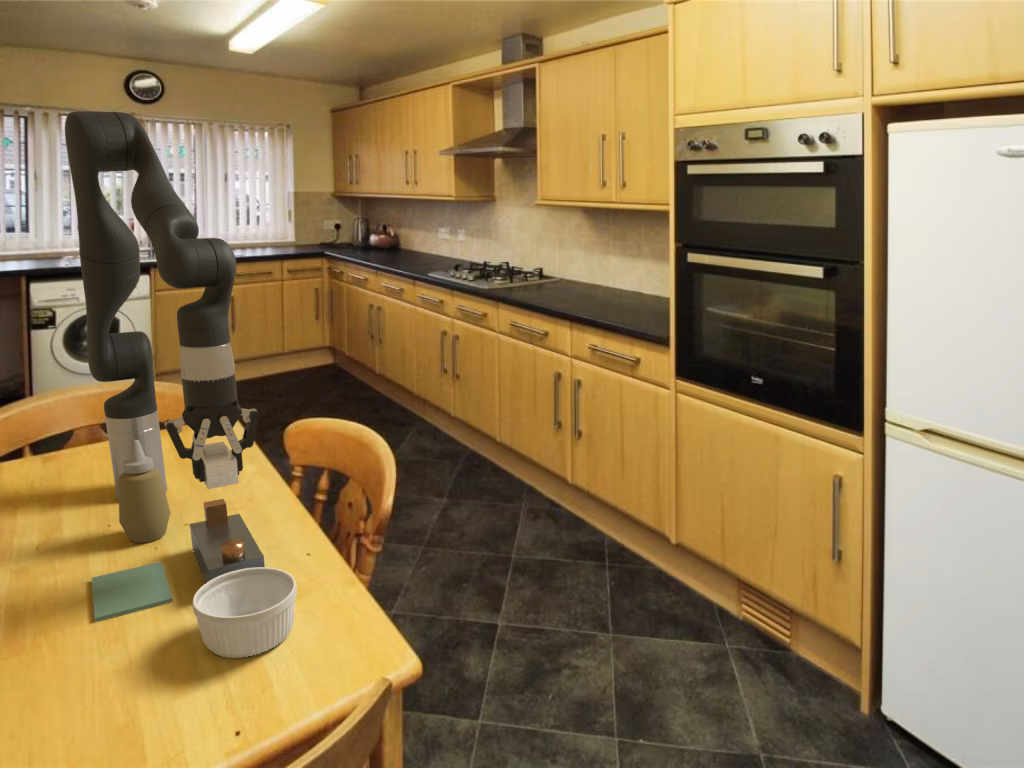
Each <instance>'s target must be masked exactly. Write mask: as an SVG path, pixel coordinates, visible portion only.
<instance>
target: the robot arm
mask: <svg viewBox="0 0 1024 768" xmlns="http://www.w3.org/2000/svg"><path fill="white" fill-rule="evenodd" d="M64 136H65V137H64V139H65V145H66V152H67V158H68V164H69V169H70V176H71V180H72V185H73V193H74V198H75V206H76V217H77V231H78V248H79V250H78V251H79V259H80V260H79V261H80V269H81V277H82V284H83V291H84V299H85V309H86V311H85V312H86V314H85V315H86V349H87V350H86V351H87V352H86V353H87V363H88V367H89V372H90V374H91V376H92V378H93V379H94V380H95V381H97V382H100V383H101V382H102V383H107V382H108V383H111V382H118V381H126V380H127V381H128V380H134V381H133V382H132V383H131V385H130V386H128V387H127V388H126V389H124V390H123V391H120V392H119V393H117V394H115V395H113V396H111V397H108V398H107V399H106V400H105V401H104V403H103V412H104V417H105V418H104V419H105V424H106V425H105V426H106V431H107V438H108V444H109V451H110V459H111V465H112V472H113V480H114V482H113V483H114V488H115V493H116V498H117V499H118V500H119V483H118V478H119V476H120V475H121V474H122V473H124V470H123V462H124V461H125V460H127V459H129V456H130V447H131V441H132V440H139V442H140V444H141V447H142V449H143V452H144V454H145V456H148V457H151V458H152V459H153V465H154V467H153V468H156V469H158V470H159V471H160V473H161V477H162V481H163V485H164V489H165V492H166V491H167V490H168V487H167V486H168V484H167V477H166V469H165V461H164V453H163V452H164V451H163V445H162V437H161V436H162V435H161V429H160V421H159V414H158V413H159V412H158V404H157V395H156V388H155V377H154V375H155V374H154V373H155V372H154V359H153V358H154V357H153V349H152V348H153V347H152V345H151V341H150V338H149V336H148V335H147V333H145V332H144V331H138V330H137V331H128V332H126V331H125V332H124V331H123V332H115V333H113V332H111V333H110V329H111V326H112V323H113V320H114V318H115V317H116V315H117V313H118V312H119V311H120V309H121V308H122V307H123V305H124V304H125V303H126V302H127V300H128V298H130V296H131V294H132V293H133V292H134V290H135V289H136V287H137V285H138V283H139V282H140V278H141V262H140V261H141V260H140V259H141V258H140V257H141V256H140V245H139V241H138V239H137V237H136V235H135V234H134V232H133V231H132V230H131V228H130V227H129V225H127V224H126V222H125V221H124V220H123V219H122V217H121V216H120V215H119V214H118V213H117V212H116V211H115V209H113V207H112V206H111V205H110V203H109V202H108V200H107V199H106V196H105V195H104V194H103V192H102V189H101V185H100V181H99V180H100V179H99V173H104V172H105V173H106V172H108V173H109V172H128V171H135V172H136V173H137V174H138V176H137V179H136V180H135V184H134V185H133V188H132V192H131V197H130V203H131V204H130V205H131V210H132V211H133V215H134V217H135V219H136V220H137V222H138V224H139V225H140V226H141V228H142V229H143V231H144V232H145V234H146V235H147V236H148V237H149V240H150V242H151V245H152V248H153V252H154V256H155V261H156V267H157V271H158V275H159V276H160V278H161V280H162V281H163V282H164V283H166V284H168V286H170V287H173V288H175V289H179V290H181V289H184V290H185V289H197V288H204V291H203V293H202V295H201V297H200V298H199V299H197V300H195V301H192V302H190V303H186V304H184V305H182V306H180V307H179V308H178V309H177V311H176V323H177V331H178V332H177V333H178V341H179V366H180V375H181V376H180V377H181V384H182V385H181V386H182V395H183V403H184V409H183V411H182V413H181V416H180V417H176V418H174V419H166V420H165V421H164V423H163V424H164V427H165V429H166V431H167V433H168V436H169V438H170V440H171V442H172V444H173V446H174V448H175V450H176V452H177V454H178V457H179V458H180V459H182V460H184V459H190V461H191V465H192V466H191V467H192V474H193V477H194V478H195V480H198V481H199V482H200V483H204V481H205V478H204V469H203V460H202V458H201V455H202V450H203V447H204V445H205V444H206V442H207V441H206V440H207V439H211V438H214V437H226V440H227V442H228V444H229V445H230V450H231V452H232V453H233V455H234V456H235V458H236V459H237V469H238V476H239V475H240V472H243V468H244V463H243V462H244V461H243V451H244V450H246V449H247V448H249V449H251V448H252V447H253V446H254V444H255V439H256V438H255V437H256V434H257V430H258V426H259V425H258V424H259V420H260V416H261V415H260V412H259V411H258V410H257V409H256V408H254V407H251V408H249V409H248V408H242V407H241V406H240V404H239V400H238V393H237V380H236V364H235V358H234V353H233V348H232V345H231V343H232V342H231V334H230V323H229V322H230V321H229V312H230V305H231V300H232V294H233V289H234V286H235V285H234V284H235V279H236V273H237V258H236V254H235V252H234V250H233V248H232V247H231V245H230V244H229V243H228V242H226V240H224V239H222V238H218V237H204V238H202V237H201V238H198V237H199V234H200V230H199V229H200V228H199V224H198V222H197V220H196V218H195V217H194V216H193V214H192V213H191V211H190V210H189V209H188V207H187V206H186V204H185V203H184V201H183V200H182V199H181V198H180V197H179V195H178V194H177V192H176V190H175V189H174V187H173V185H172V184H171V182H170V180H169V178H168V176H167V173H166V172H165V169H164V167H163V165H162V162H161V159H159V155H158V153H157V152H156V150H155V148H154V146H153V144H152V142H151V140H150V137H149V136H148V133H147V132H146V130H145V128H144V126H143V125H142V123H141V122H140V121H139V120H138V118H136V117H135V116H134V115H133V114H130V113H127V112H122V111H95V110H94V111H93V110H92V111H91V110H88V111H87V110H86V111H85V110H82V111H81V110H80V111H79V110H75V111H71V112H69V113H68V114H67V116H66V117H65V123H64ZM241 416H242V420H243V422H244V423H245V425H244V430H243V434H242V438H241V439H239V440H238V437H237V435H236V433H235V431H234V427H235V425H237V422H238V420H239V419H240V417H241ZM184 424H185V425H187V426H188V427H189V429H191V430H192V431H193V435H192V443H191V446H190V447H185V444H184V443H183V440H182V438H181V436H180V434H181V433H182V432H183V425H184Z"/></svg>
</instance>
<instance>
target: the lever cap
mask: <svg viewBox="0 0 1024 768" xmlns="http://www.w3.org/2000/svg"><path fill="white" fill-rule="evenodd" d="M231 450H232V449H231V448H230V447H229V446H228V445H226V443H225V442H224V441H219V442H212V443H207V444H206V443H205V445H204V447H203V450H202V455H201V458H202V460H203V469H204V478H205V481H204V482H203V483H204V485H205V486H206V489H207V490H210V489H217V488H221V487H226V486H231V485H238V484H239V475H238V469H237V459H236V458H235V456H234V455H233V453H232V452H231Z"/></svg>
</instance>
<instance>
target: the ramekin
mask: <svg viewBox="0 0 1024 768" xmlns="http://www.w3.org/2000/svg"><path fill="white" fill-rule="evenodd" d="M297 594H298V588H297V582H296V579H295V578H294V576H293V575H292V574H291V573H289V572H287V571H285V570H283V569H278V568H274V567H266V566H265V567H256V568H246V569H241V570H236V571H232V572H229V573H226V574H223V575H221V576H218V577H216V578H214V579H212V580H210V581H209V582H207V583H206V584H205V583H204V584H203V585H202V586H201V587H199V589H198V590H197V591H196V592H195V593H194V596H193V598H192V611H193V614H194V616H195V617H196V619H197V624H198V627H199V632H200V635H201V639H202V641H203V644H204V646H206V648H207V649H208V650H210V651H211V652H212V653H214V654H215V655H217V656H219V657H223V658H228V659H242V658H243V657H245V658H249V657H248V656H251V657H254V656H253V655H255V656H257V655H256V654H259V655H261V654H260V653H262V652H265V651H267V650H269V649H271V648H273V647H274V648H276V647H277V646H279V645H280V644H281V643H282V642H284V640H285V639H286V638H287V637H288V636H289V634H290V633H291V631H292V629H293V626H294V622H295V607H296V606H295V604H296V597H297ZM279 643H280V644H279ZM278 644H279V645H278ZM276 645H277V646H276ZM275 646H276V647H275ZM274 648H273V649H274ZM271 650H272V649H271ZM269 651H270V650H269ZM267 652H268V651H267ZM265 653H266V652H265ZM262 654H263V653H262ZM243 659H244V658H243Z"/></svg>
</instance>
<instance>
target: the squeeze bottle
mask: <svg viewBox="0 0 1024 768" xmlns="http://www.w3.org/2000/svg"><path fill="white" fill-rule="evenodd" d="M153 467H154V465H153V459H152V458H151V457H148V456H145V454H144V452H143V449H142V447H141V444H140V442H139V440H132V441H131V447H130V456H129V459H127V460H125V461H124V462H123V470H124V473H122V474H121V475H120V476H119V478H118V483H119V499H118V515H119V516H118V518H119V519H118V522H119V524H120V526H121V528H122V529H123V530H124V533H125V534H126V536H127V538H128V540H129V542H132V543H138V544H142V543H149V542H153V541H156V540H159V539H160V538H162V537H164V536H166V532H167V529H168V524H169V522H170V521H169V520H170V517H171V509H170V505H169V502H168V498H167V493H166V491H165V489H164V485H163V481H162V477H161V473H160V471H159V470H158V469H156V468H153Z"/></svg>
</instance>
